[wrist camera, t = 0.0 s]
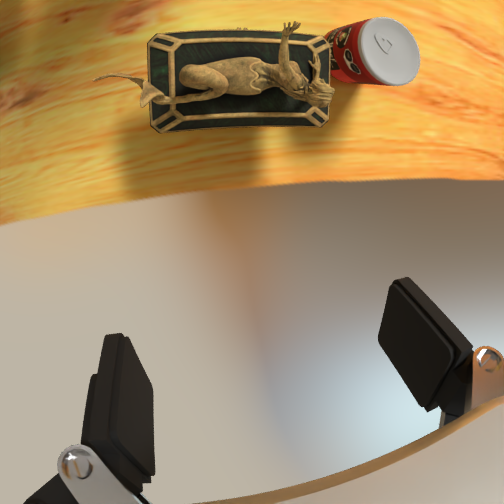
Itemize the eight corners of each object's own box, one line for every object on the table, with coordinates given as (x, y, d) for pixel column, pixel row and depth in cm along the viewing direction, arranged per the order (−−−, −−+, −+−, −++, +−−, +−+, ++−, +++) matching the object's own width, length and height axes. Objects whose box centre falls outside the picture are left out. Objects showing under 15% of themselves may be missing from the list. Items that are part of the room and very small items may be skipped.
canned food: (328, 19, 31) (373, 3, 21) (376, 47, 33) (428, 43, 24) (308, 66, 34) (350, 61, 24) (359, 92, 37) (409, 99, 27)
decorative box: (296, 45, 32) (388, 20, 15) (295, 117, 37) (383, 147, 20) (129, 51, 29) (76, 16, 12) (133, 126, 34) (84, 163, 17)
